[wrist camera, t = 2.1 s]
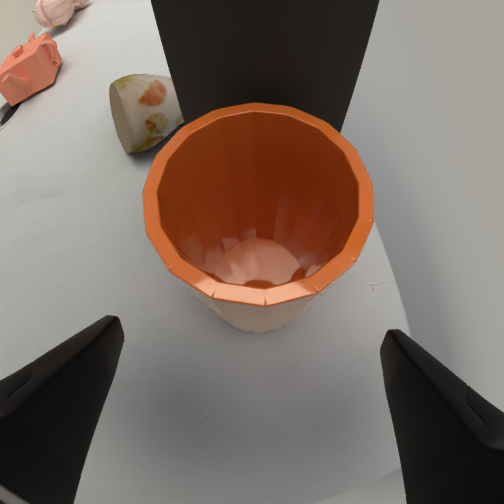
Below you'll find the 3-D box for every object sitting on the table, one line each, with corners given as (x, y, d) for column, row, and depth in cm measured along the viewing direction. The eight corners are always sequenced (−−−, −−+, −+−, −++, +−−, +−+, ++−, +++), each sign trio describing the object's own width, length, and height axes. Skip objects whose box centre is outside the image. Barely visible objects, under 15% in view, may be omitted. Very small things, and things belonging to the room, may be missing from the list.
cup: (319, 318, 20) (407, 266, 8) (220, 343, 20) (159, 330, 7) (292, 226, 22) (324, 93, 10) (200, 248, 22) (139, 128, 9)
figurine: (57, 28, 44) (31, 44, 34) (46, -6, 34) (17, 2, 25) (96, 10, 45) (78, 19, 35) (87, -26, 35) (65, -26, 25)
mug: (240, 118, 26) (188, 77, 17) (163, 174, 29) (93, 163, 20) (207, 68, 26) (153, 22, 17) (139, 122, 30) (73, 100, 20)
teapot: (77, 46, 34) (60, 11, 26) (59, 97, 29) (33, 54, 21) (23, 75, 33) (4, 45, 25) (-1, 131, 28) (-30, 98, 20)
